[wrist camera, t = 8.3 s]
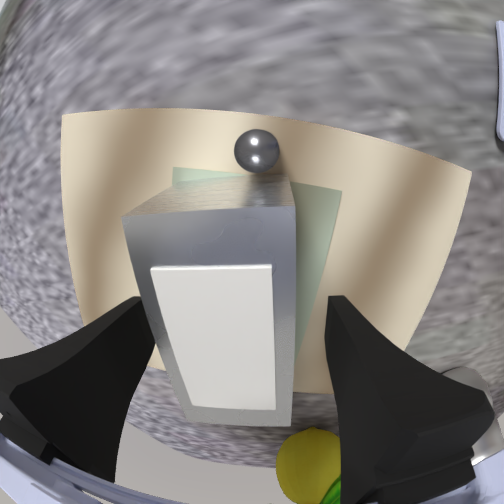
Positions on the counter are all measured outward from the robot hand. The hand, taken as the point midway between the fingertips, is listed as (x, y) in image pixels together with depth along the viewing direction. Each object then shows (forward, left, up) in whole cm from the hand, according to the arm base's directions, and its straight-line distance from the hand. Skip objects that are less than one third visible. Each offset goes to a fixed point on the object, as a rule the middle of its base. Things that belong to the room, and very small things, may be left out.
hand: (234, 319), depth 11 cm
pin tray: (0, 0, -4) cm, 4 cm away
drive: (0, 0, -3) cm, 3 cm away
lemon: (-7, +14, -4) cm, 16 cm away
